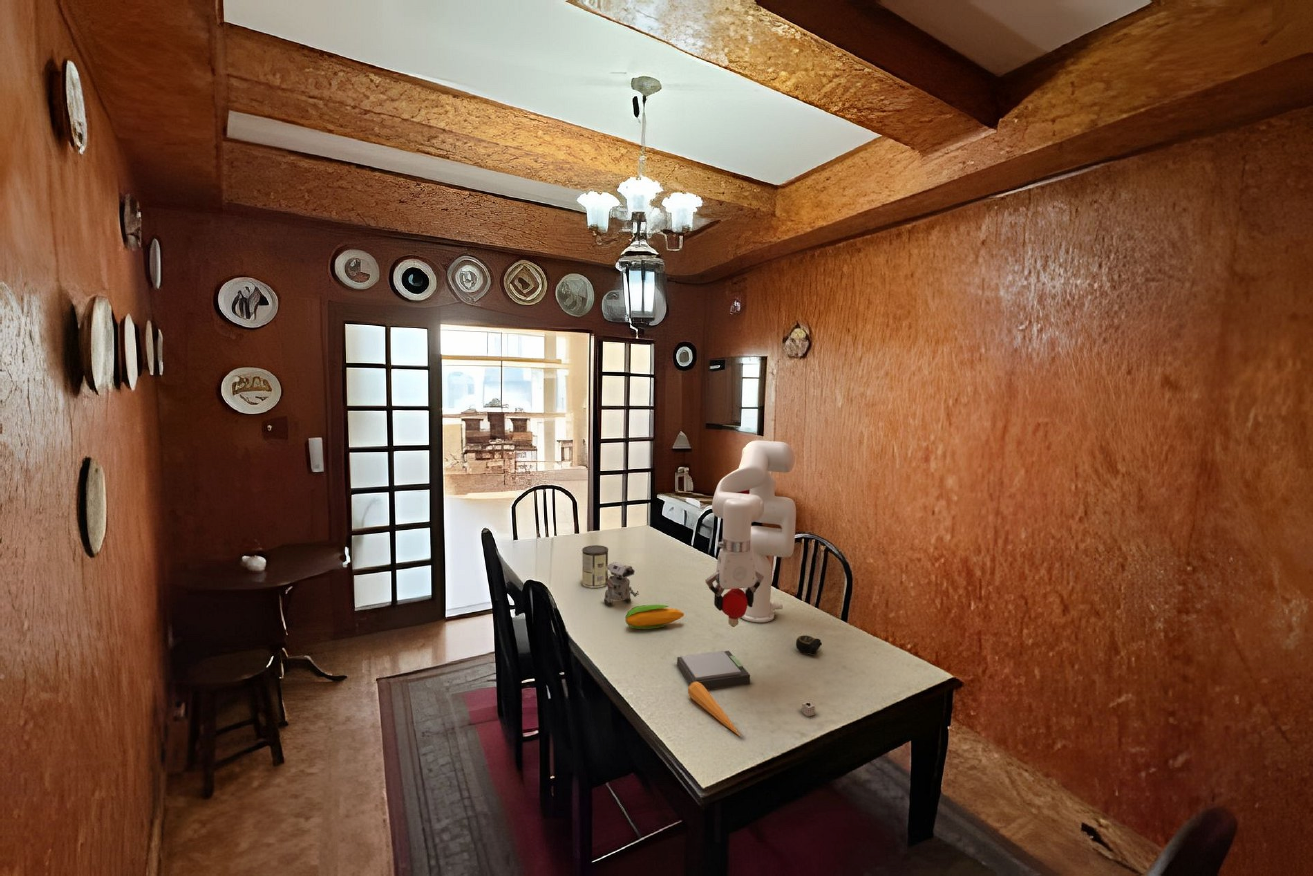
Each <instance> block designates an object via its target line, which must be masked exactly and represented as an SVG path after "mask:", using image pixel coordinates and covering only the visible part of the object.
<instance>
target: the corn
mask: <svg viewBox="0 0 1313 876" xmlns="http://www.w3.org/2000/svg"><path fill="white" fill-rule="evenodd" d="M684 615H685V613H684V612H682V611H681V610H680V609H677V608H669V605H666V604H648V605H646V604H645V605H637V606H634V607H632V608H631V609H629V610H628V611H627V612H626V614H625V624H627V625H628V626H629V627H631V628H632V629H635V630H636V629H637V630H650V629H658V628H664V627H667V625H669V624H672V623H674V622H676V621H678V620H680V619H681V618H683V617H684Z"/></svg>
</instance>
